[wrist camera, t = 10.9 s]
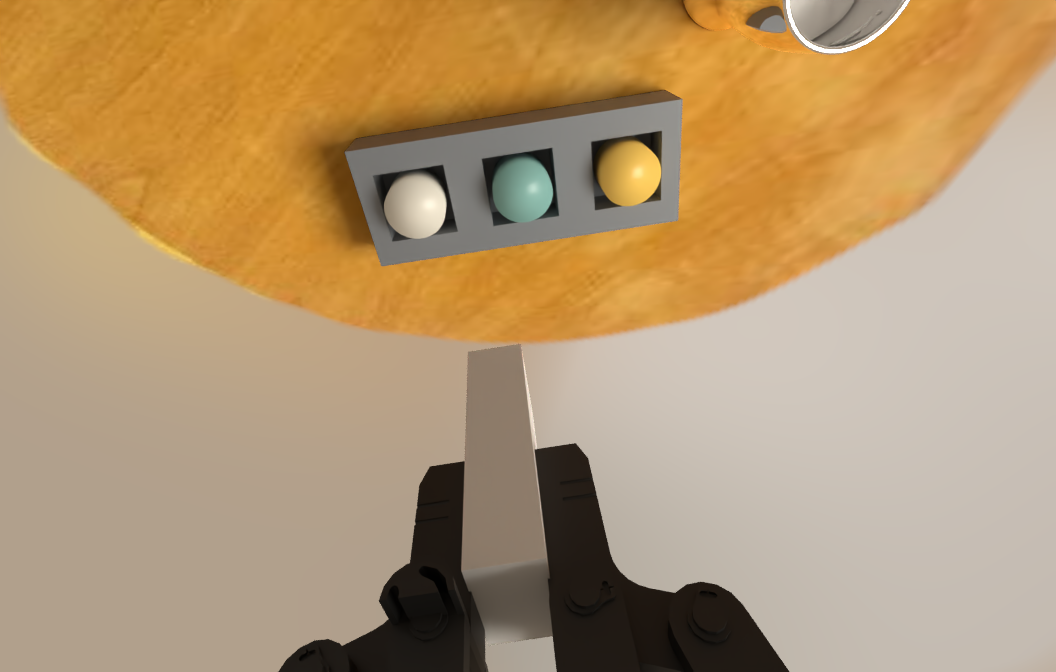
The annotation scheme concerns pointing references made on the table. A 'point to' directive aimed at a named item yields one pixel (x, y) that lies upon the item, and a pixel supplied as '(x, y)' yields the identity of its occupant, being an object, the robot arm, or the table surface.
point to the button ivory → (416, 203)
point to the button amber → (626, 170)
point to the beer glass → (800, 22)
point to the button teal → (521, 187)
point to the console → (479, 145)
